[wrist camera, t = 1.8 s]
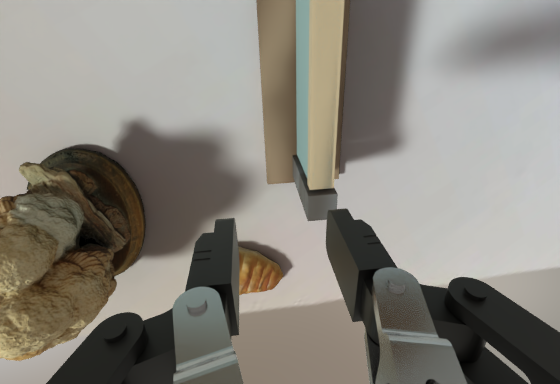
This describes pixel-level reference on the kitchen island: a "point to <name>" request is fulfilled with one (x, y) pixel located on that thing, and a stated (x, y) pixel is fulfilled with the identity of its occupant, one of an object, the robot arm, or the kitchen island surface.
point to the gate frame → (290, 103)
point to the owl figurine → (64, 248)
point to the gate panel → (318, 87)
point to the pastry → (257, 272)
